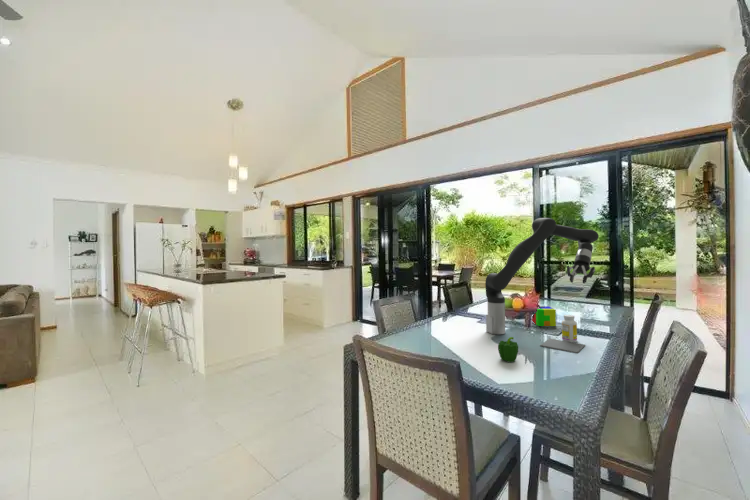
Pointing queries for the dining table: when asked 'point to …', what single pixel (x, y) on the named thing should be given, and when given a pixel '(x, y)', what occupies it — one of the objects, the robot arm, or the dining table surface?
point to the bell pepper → (508, 350)
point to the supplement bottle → (569, 329)
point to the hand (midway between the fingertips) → (577, 282)
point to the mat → (563, 345)
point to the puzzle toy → (545, 316)
